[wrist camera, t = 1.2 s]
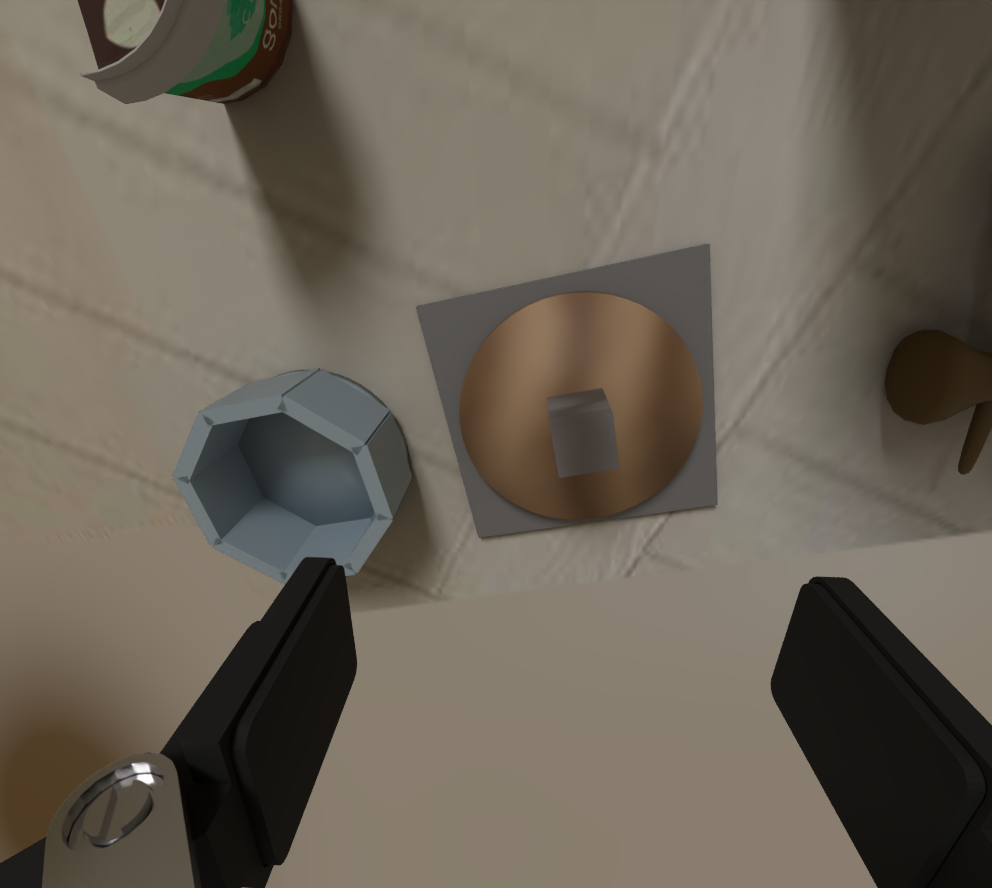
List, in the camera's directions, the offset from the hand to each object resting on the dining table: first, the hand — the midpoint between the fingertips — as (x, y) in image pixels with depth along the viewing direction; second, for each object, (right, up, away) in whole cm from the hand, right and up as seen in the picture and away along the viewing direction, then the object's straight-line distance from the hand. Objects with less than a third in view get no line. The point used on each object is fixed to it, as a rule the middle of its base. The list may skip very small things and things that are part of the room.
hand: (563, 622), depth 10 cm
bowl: (-14, +3, +26) cm, 30 cm away
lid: (+4, +6, +23) cm, 24 cm away
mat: (+4, +6, +23) cm, 25 cm away
